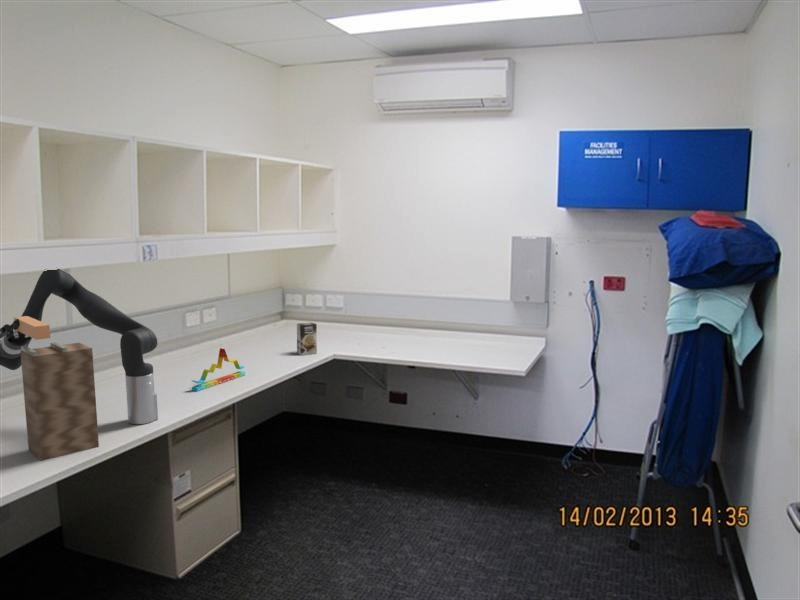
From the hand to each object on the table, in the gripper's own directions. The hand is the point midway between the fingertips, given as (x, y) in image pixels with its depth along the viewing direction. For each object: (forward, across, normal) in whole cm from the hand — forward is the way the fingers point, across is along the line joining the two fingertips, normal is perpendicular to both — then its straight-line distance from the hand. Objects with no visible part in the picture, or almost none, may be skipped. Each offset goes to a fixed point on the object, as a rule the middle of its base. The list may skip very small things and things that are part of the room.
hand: (26, 320), depth 208 cm
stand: (-5, +4, +43) cm, 43 cm away
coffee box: (-56, +140, +14) cm, 152 cm away
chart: (-38, +78, +24) cm, 90 cm away
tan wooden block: (+3, 0, +6) cm, 7 cm away
